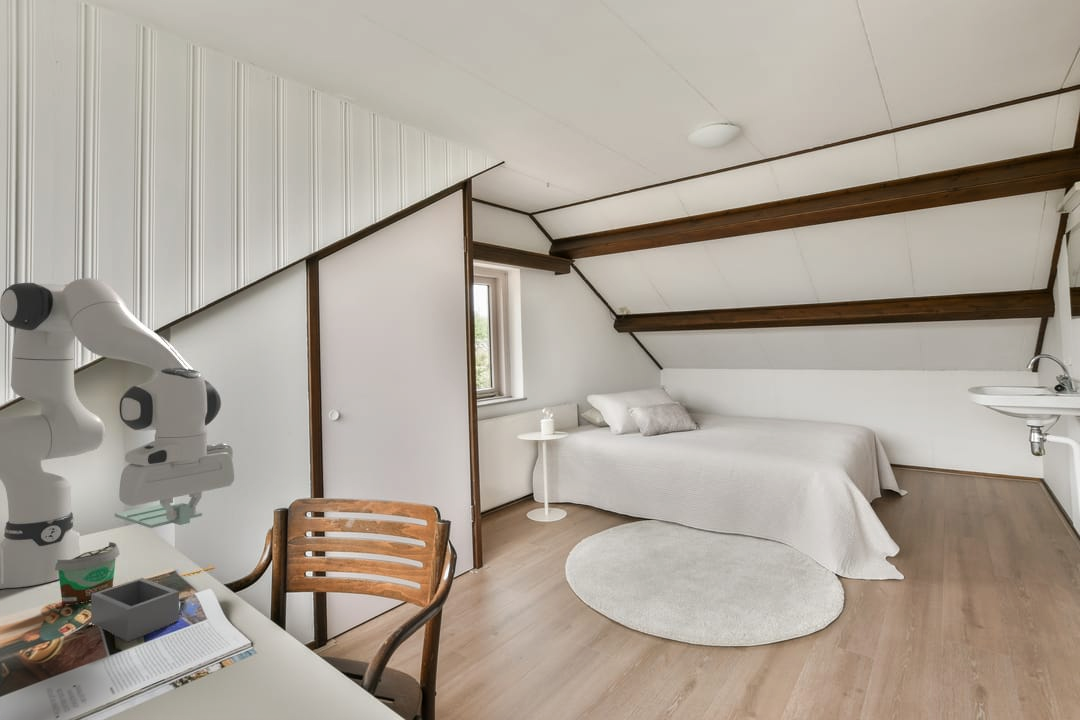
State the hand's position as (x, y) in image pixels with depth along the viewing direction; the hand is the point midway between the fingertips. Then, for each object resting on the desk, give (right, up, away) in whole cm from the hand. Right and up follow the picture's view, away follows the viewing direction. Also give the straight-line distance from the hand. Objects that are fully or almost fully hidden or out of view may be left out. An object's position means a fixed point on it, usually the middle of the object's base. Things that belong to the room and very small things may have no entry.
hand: (181, 517), depth 109 cm
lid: (-6, -1, +4) cm, 7 cm away
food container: (-26, -21, +10) cm, 35 cm away
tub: (-8, -21, -1) cm, 22 cm away
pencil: (-15, -21, +20) cm, 33 cm away
